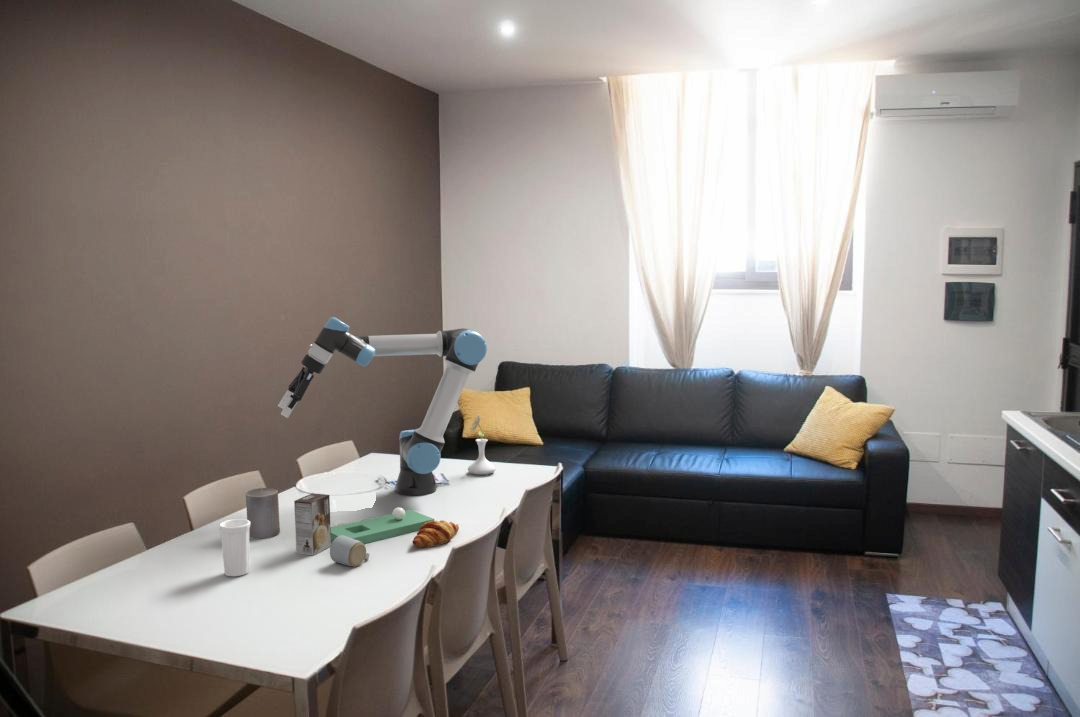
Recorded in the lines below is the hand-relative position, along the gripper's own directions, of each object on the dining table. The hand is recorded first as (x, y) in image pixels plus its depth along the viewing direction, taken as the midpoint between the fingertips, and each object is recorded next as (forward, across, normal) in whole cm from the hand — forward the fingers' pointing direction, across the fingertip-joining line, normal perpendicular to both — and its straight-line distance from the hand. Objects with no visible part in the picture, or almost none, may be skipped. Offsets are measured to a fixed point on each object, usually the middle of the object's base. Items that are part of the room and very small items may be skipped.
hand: (282, 411), depth 291 cm
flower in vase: (-13, -25, +85) cm, 90 cm away
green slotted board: (+13, +36, +40) cm, 55 cm away
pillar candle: (+33, +25, +12) cm, 43 cm away
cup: (+37, +59, +4) cm, 69 cm away
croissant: (+5, +50, +53) cm, 73 cm away
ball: (+6, +33, +43) cm, 55 cm away
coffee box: (+25, +46, +22) cm, 57 cm away
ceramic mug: (+20, +61, +29) cm, 70 cm away
